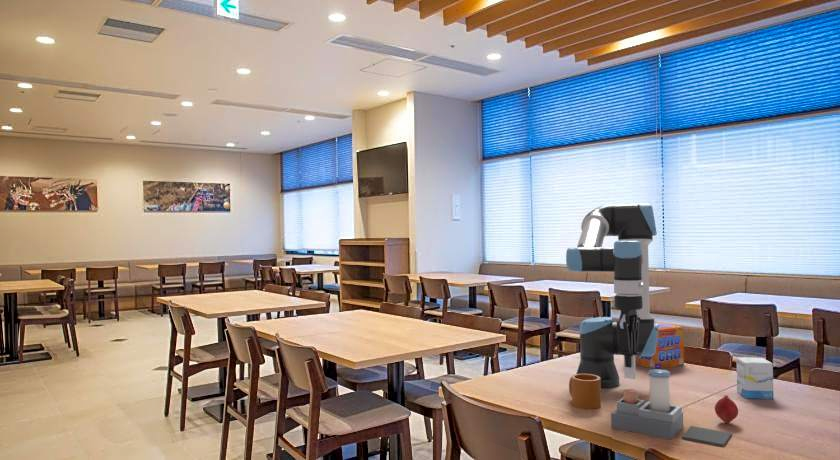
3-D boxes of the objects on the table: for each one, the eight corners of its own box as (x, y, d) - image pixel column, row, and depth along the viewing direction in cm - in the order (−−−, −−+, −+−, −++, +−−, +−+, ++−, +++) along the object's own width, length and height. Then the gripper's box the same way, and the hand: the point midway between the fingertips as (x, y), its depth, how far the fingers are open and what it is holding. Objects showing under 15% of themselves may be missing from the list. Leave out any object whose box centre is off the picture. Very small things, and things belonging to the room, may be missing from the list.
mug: (586, 397, 191) (586, 370, 191) (606, 408, 180) (606, 379, 180) (561, 399, 189) (561, 372, 189) (580, 410, 178) (580, 381, 178)
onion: (710, 420, 166) (710, 392, 166) (729, 419, 167) (729, 391, 167) (723, 426, 160) (722, 398, 160) (742, 425, 161) (742, 397, 161)
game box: (654, 357, 248) (654, 321, 248) (684, 365, 233) (683, 326, 233) (626, 361, 241) (625, 324, 242) (655, 369, 227) (654, 329, 227)
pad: (681, 438, 152) (681, 436, 152) (691, 428, 160) (691, 425, 160) (723, 446, 146) (723, 444, 146) (731, 435, 154) (731, 433, 154)
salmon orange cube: (622, 405, 164) (621, 391, 164) (626, 402, 167) (626, 388, 167) (635, 407, 162) (634, 393, 162) (639, 404, 165) (638, 390, 165)
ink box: (774, 399, 185) (773, 363, 185) (745, 398, 187) (744, 362, 187) (764, 392, 193) (763, 357, 193) (736, 391, 195) (735, 356, 195)
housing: (611, 427, 162) (610, 404, 162) (625, 416, 171) (625, 394, 171) (671, 439, 152) (671, 414, 152) (683, 426, 161) (682, 403, 161)
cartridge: (646, 415, 159) (646, 372, 159) (652, 410, 163) (651, 368, 163) (667, 419, 156) (666, 374, 156) (673, 414, 160) (672, 370, 160)
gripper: (634, 297, 157) (635, 384, 157) (648, 293, 167) (650, 375, 167) (606, 296, 162) (608, 380, 161) (622, 292, 172) (624, 371, 172)
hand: (630, 377), depth 164 cm, fingers closed
